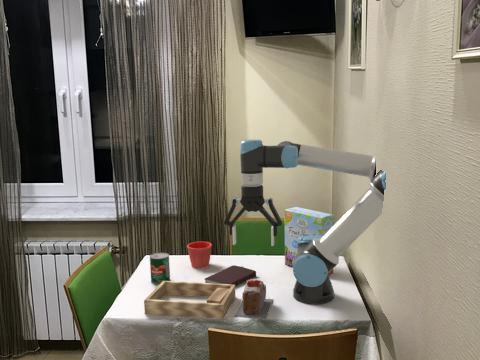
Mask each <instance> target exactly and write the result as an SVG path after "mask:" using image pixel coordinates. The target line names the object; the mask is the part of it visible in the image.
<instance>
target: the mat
mask: <svg viewBox="0 0 480 360" xmlns="http://www.w3.org/2000/svg"><path fill="white" fill-rule="evenodd" d="M273 301H274V298H273V299H272V298H265V300H264V304H263V308H262V309H261V313H260V314H259V315H256V314H244V312H243V306H242V301H241V302H240V304H239V306H238V308H237V309H236V312H235V313H234V317H236V318H237V317H240V318H251V319H252V318H253V319H265V318H266V319H267V318H268V316H269V313H270V310H271V307H272V304H273ZM268 312H269V313H268Z"/></svg>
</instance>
